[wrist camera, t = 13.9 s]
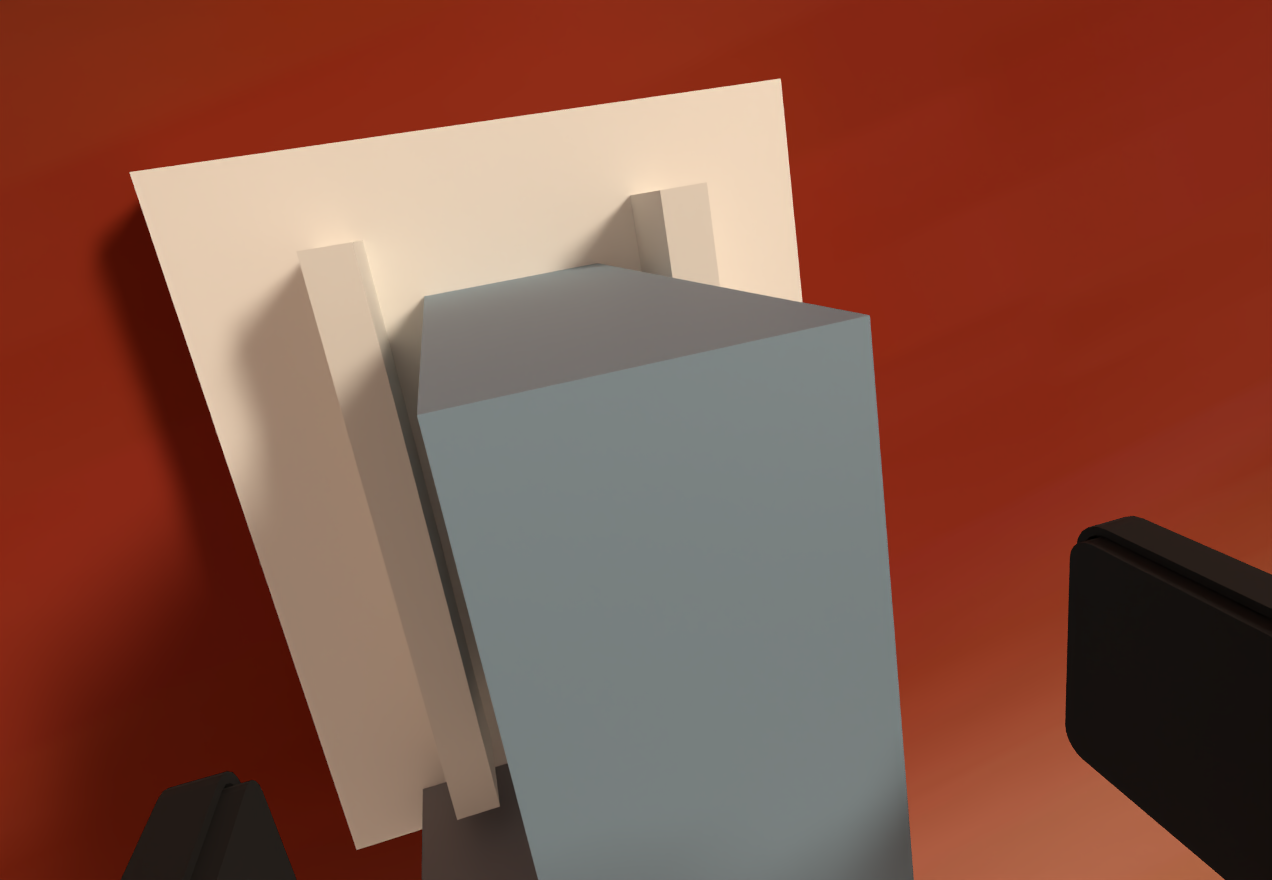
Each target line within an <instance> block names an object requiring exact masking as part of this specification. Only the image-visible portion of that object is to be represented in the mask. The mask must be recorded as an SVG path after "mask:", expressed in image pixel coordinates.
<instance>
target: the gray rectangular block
mask: <svg viewBox="0 0 1272 880" xmlns="http://www.w3.org/2000/svg"><path fill="white" fill-rule="evenodd" d="M417 418H418V422H419V425H420V429H421V433H422V437H423V441H424V445H425V448H426V452H427V456H428V460H429V464H430V468H431V471H432V475H433V479H434V483H435V487H436V490H437V494H438V498H439V502H440V506H441V510H442V513H443V517H444V521H445V525H446V529H447V533H448V536H449V540H450V544H451V548H452V552H453V556H454V559H455V563H456V567H457V571H458V575H459V579H460V582H461V586H462V590H463V594H464V598H465V602H466V605H467V609H468V613H469V617H470V621H471V625H472V628H473V632H474V636H475V640H476V644H477V647H478V651H479V655H480V659H481V663H482V667H483V670H484V674H485V678H486V682H487V686H488V690H489V693H490V697H491V701H492V705H493V709H494V713H495V716H496V720H497V724H498V728H499V732H500V736H501V739H502V743H503V747H504V751H505V755H506V759H507V762H508V766H509V770H510V774H511V778H512V782H513V785H514V789H515V793H516V797H517V801H518V804H519V808H520V812H521V816H522V820H523V824H524V827H525V831H526V835H527V839H528V843H529V847H530V850H531V854H532V858H533V862H534V866H535V870H536V873H537V877H538V880H914V878H913V865H912V852H911V840H910V827H909V814H908V801H907V788H906V776H905V763H904V750H903V737H902V724H901V711H900V699H899V686H898V673H897V660H896V647H895V634H894V622H893V609H892V596H891V583H890V570H889V558H888V545H887V532H886V519H885V506H884V493H883V481H882V468H881V455H880V442H879V429H878V416H877V404H876V391H875V378H874V365H873V352H872V339H871V327H870V315H865V314H860V313H854V312H849V311H844V310H839V309H833V308H828V307H823V306H818V305H813V304H807V303H802V302H797V301H792V300H787V299H781V298H776V297H771V296H766V295H761V294H755V293H750V292H745V291H740V290H734V289H729V288H724V287H719V286H714V285H708V284H703V283H698V282H693V281H688V280H682V279H677V278H672V277H667V276H661V275H656V274H651V273H646V272H641V271H635V270H630V269H625V268H620V267H615V266H609V265H604V264H599V263H596V264H591V265H585V266H580V267H575V268H570V269H564V270H559V271H554V272H549V273H544V274H538V275H533V276H528V277H523V278H517V279H512V280H507V281H502V282H497V283H491V284H486V285H481V286H476V287H470V288H465V289H460V290H455V291H450V292H444V293H439V294H434V295H429V296H424V309H423V325H422V341H421V357H420V373H419V388H418V404H417Z"/></svg>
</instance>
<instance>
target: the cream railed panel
mask: <svg viewBox="0 0 1272 880" xmlns="http://www.w3.org/2000/svg"><path fill="white" fill-rule="evenodd" d="M130 175H131V178H132V181H133V184H134V187H135V190H136V193H137V196H138V199H139V202H140V205H141V208H142V211H143V214H144V217H145V220H146V223H147V226H148V229H149V232H150V235H151V238H152V241H153V244H154V247H155V250H156V253H157V256H158V259H159V262H160V265H161V268H162V271H163V274H164V277H165V280H166V283H167V286H168V289H169V292H170V295H171V298H172V301H173V304H174V307H175V310H176V313H177V316H178V319H179V322H180V325H181V328H182V331H183V334H184V337H185V340H186V343H187V345H188V348H189V351H190V354H191V357H192V360H193V363H194V366H195V369H196V372H197V375H198V378H199V381H200V384H201V387H202V390H203V393H204V396H205V399H206V402H207V405H208V408H209V411H210V414H211V417H212V420H213V423H214V426H215V429H216V432H217V435H218V438H219V441H220V444H221V447H222V450H223V453H224V456H225V459H226V462H227V465H228V468H229V471H230V474H231V477H232V480H233V483H234V486H235V489H236V492H237V495H238V498H239V501H240V504H241V507H242V510H243V513H244V516H245V519H246V522H247V524H248V527H249V530H250V533H251V536H252V539H253V542H254V545H255V548H256V551H257V554H258V557H259V560H260V563H261V566H262V569H263V572H264V575H265V578H266V581H267V584H268V587H269V590H270V593H271V596H272V599H273V602H274V605H275V608H276V611H277V614H278V617H279V620H280V623H281V626H282V629H283V632H284V635H285V638H286V641H287V644H288V647H289V650H290V653H291V656H292V659H293V662H294V665H295V668H296V671H297V674H298V677H299V680H300V683H301V686H302V689H303V692H304V695H305V698H306V701H307V704H308V706H309V709H310V712H311V715H312V718H313V721H314V724H315V727H316V730H317V733H318V736H319V739H320V742H321V745H322V748H323V751H324V754H325V757H326V760H327V763H328V766H329V769H330V772H331V775H332V778H333V781H334V784H335V787H336V790H337V793H338V796H339V799H340V802H341V805H342V808H343V811H344V814H345V817H346V820H347V823H348V826H349V829H350V832H351V835H352V838H353V841H354V844H355V847H356V850H358V849H361V848H365V847H368V846H371V845H374V844H377V843H380V842H384V841H387V840H390V839H393V838H396V837H399V836H403V835H406V834H409V833H412V832H415V831H418V830H421V829H422V880H538V877H537V873H536V870H535V866H534V862H533V858H532V854H531V850H530V847H529V843H528V839H527V835H526V831H525V827H524V824H523V820H522V816H521V812H520V808H519V804H518V801H517V797H516V793H515V789H514V785H513V782H512V778H511V774H510V770H509V766H508V762H507V759H506V755H505V751H504V747H503V743H502V739H501V736H500V732H499V728H498V724H497V720H496V716H495V713H494V709H493V705H492V701H491V697H490V693H489V690H488V686H487V682H486V678H485V674H484V670H483V667H482V663H481V659H480V655H479V651H478V647H477V644H476V640H475V636H474V632H473V628H472V625H471V621H470V617H469V613H468V609H467V605H466V602H465V598H464V594H463V590H462V586H461V582H460V579H459V575H458V571H457V567H456V563H455V559H454V556H453V552H452V548H451V544H450V540H449V536H448V533H447V529H446V525H445V521H444V517H443V513H442V510H441V506H440V502H439V498H438V494H437V490H436V487H435V483H434V479H433V475H432V471H431V468H430V464H429V460H428V456H427V452H426V448H425V445H424V441H423V437H422V433H421V429H420V425H419V422H418V418H417V404H418V388H419V373H420V357H421V341H422V325H423V309H424V296H429V295H434V294H439V293H444V292H450V291H455V290H460V289H465V288H470V287H476V286H481V285H486V284H491V283H497V282H502V281H507V280H512V279H517V278H523V277H528V276H533V275H538V274H544V273H549V272H554V271H559V270H564V269H570V268H575V267H580V266H585V265H591V264H596V263H599V264H604V265H609V266H615V267H620V268H625V269H630V270H635V271H641V272H646V273H651V274H656V275H661V276H667V277H672V278H677V279H682V280H688V281H693V282H698V283H703V284H708V285H714V286H719V287H724V288H729V289H734V290H740V291H745V292H750V293H755V294H761V295H766V296H771V297H776V298H781V299H787V300H792V301H797V302H802V293H801V283H800V273H799V263H798V252H797V242H796V232H795V221H794V211H793V201H792V190H791V180H790V170H789V159H788V149H787V139H786V128H785V118H784V108H783V98H782V87H781V79H775V80H768V81H761V82H754V83H747V84H740V85H733V86H727V87H720V88H713V89H706V90H699V91H692V92H685V93H678V94H671V95H664V96H657V97H650V98H643V99H636V100H629V101H622V102H615V103H608V104H601V105H594V106H587V107H580V108H573V109H566V110H559V111H553V112H546V113H539V114H532V115H525V116H518V117H511V118H504V119H497V120H490V121H483V122H476V123H469V124H462V125H455V126H448V127H441V128H434V129H427V130H420V131H413V132H406V133H399V134H392V135H386V136H379V137H372V138H365V139H358V140H351V141H344V142H337V143H330V144H323V145H316V146H309V147H302V148H295V149H288V150H281V151H274V152H267V153H260V154H253V155H246V156H239V157H232V158H225V159H218V160H212V161H205V162H198V163H191V164H184V165H177V166H170V167H163V168H156V169H149V170H142V171H135V172H130Z"/></svg>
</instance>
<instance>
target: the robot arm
mask: <svg viewBox="0 0 1272 880" xmlns="http://www.w3.org/2000/svg"><path fill="white" fill-rule="evenodd" d="M1065 726H1066V733H1067V736H1068V739H1069V741H1070V743H1071V745H1072V747H1073V748H1074V750H1075V751H1076V752H1077V754H1078V755H1079V756H1080V757H1081V758H1082V759H1083V760H1084V761H1085V762H1087V763H1088V764H1089V765H1090V766H1091V767H1093V768H1094V769H1095V770H1096V771H1097V772H1098V773H1100V774H1101V775H1102V776H1103V777H1104V778H1106V779H1107V780H1108V781H1109V782H1110V783H1111V784H1113V785H1114V786H1115V787H1116V788H1117V789H1119V790H1120V791H1121V792H1122V793H1123V794H1124V795H1126V796H1127V797H1128V798H1129V799H1130V800H1132V801H1133V802H1134V803H1135V804H1136V805H1137V806H1139V807H1140V808H1141V809H1142V810H1143V811H1145V812H1146V813H1147V814H1148V815H1149V816H1150V817H1152V818H1153V819H1154V820H1155V821H1156V822H1158V823H1159V824H1160V825H1161V826H1162V827H1163V828H1165V829H1166V830H1167V831H1168V832H1169V833H1171V834H1172V835H1173V836H1174V837H1175V838H1176V839H1178V840H1179V841H1180V842H1181V843H1182V844H1184V845H1185V846H1186V847H1187V848H1188V849H1189V850H1191V851H1192V852H1193V853H1194V854H1195V855H1197V856H1198V857H1199V858H1200V859H1201V860H1202V861H1204V862H1205V863H1206V864H1207V865H1208V866H1210V867H1211V868H1212V869H1213V870H1214V871H1215V872H1217V873H1218V874H1219V875H1220V876H1221V877H1223V878H1224V879H1225V880H1272V575H1271V574H1269V573H1266V572H1264V571H1262V570H1260V569H1257V568H1255V567H1253V566H1250V565H1248V564H1246V563H1244V562H1241V561H1239V560H1237V559H1234V558H1232V557H1230V556H1228V555H1225V554H1223V553H1221V552H1218V551H1216V550H1214V549H1211V548H1209V547H1207V546H1205V545H1202V544H1200V543H1198V542H1195V541H1193V540H1191V539H1189V538H1186V537H1184V536H1182V535H1179V534H1177V533H1175V532H1173V531H1170V530H1168V529H1166V528H1163V527H1161V526H1159V525H1157V524H1154V523H1152V522H1150V521H1147V520H1145V519H1143V518H1139V517H1135V516H1130V517H1123V518H1120V519H1116V520H1113V521H1109V522H1106V523H1102V524H1099V525H1095V526H1092V527H1088V528H1087V529H1085V530H1084V531H1082V532H1081V534H1080V536H1079V537H1078V541H1077V544H1076V545H1075V546H1074V547H1073V549H1072V550H1071V554H1070V574H1069V610H1068V646H1067V683H1066V719H1065ZM121 880H296V877H295V874H294V872H293V869H292V867H291V864H290V861H289V859H288V856H287V854H286V851H285V848H284V846H283V843H282V841H281V838H280V835H279V833H278V830H277V828H276V825H275V822H274V820H273V817H272V815H271V812H270V809H269V807H268V804H267V802H266V799H265V796H264V794H263V791H262V789H261V787H260V785H259V784H258V783H257V782H256V781H254V780H251V781H247V782H244V783H240V781H239V779H238V778H237V776H236V775H235V774H234V773H233V772H228V771H227V772H223V773H220V774H216V775H213V776H209V777H205V778H202V779H198V780H195V781H191V782H188V783H184V784H181V785H177V786H174V787H170V788H168V789H166V790H165V791H163V792H162V794H161V795H160V797H159V798H158V800H157V802H156V804H155V807H154V809H153V811H152V813H151V815H150V817H149V820H148V822H147V824H146V826H145V828H144V830H143V833H142V835H141V837H140V839H139V841H138V844H137V846H136V848H135V850H134V852H133V854H132V857H131V859H130V861H129V863H128V865H127V867H126V870H125V872H124V874H123V876H122V878H121Z"/></svg>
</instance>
